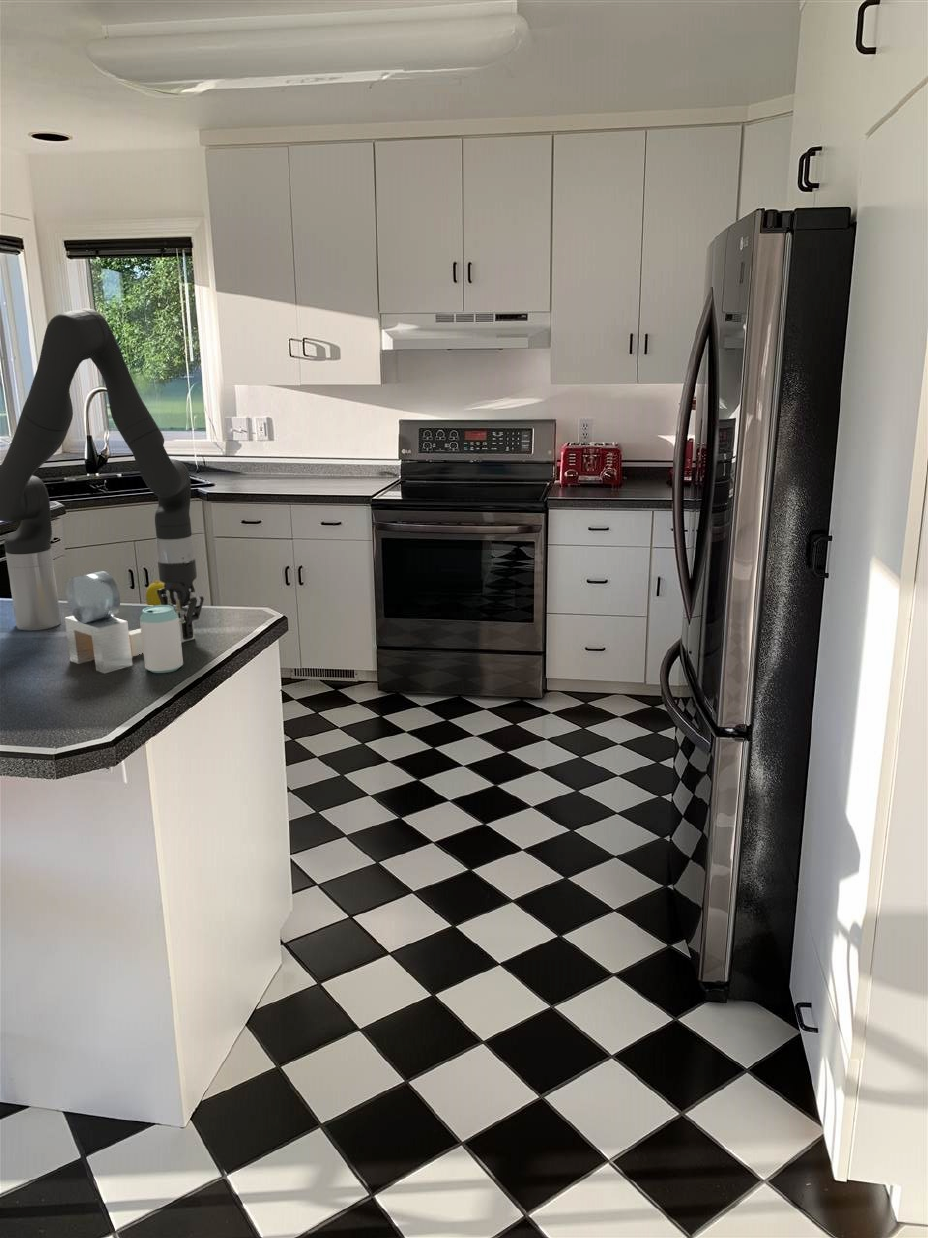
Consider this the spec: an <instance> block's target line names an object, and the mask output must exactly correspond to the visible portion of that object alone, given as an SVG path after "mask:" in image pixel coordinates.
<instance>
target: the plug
mask: <svg viewBox="0 0 928 1238" xmlns="http://www.w3.org/2000/svg"><path fill="white" fill-rule="evenodd" d="M192 625H193V638H191V639H188V640H184V639H183V633H182V622H181V618H179V627H180V637H181V644H182V643H184V642H188V641H192V640H195V638H196V637H195V628H194V621H193V622H192ZM129 639H130V648H131V656H132V659H133V658H134V657H136V656H140V655H143V654H144V653H143V644H142V635H141V627H140V628H137V629H133V630H129ZM142 653H143V654H142ZM139 654H140V655H139Z"/></svg>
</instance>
